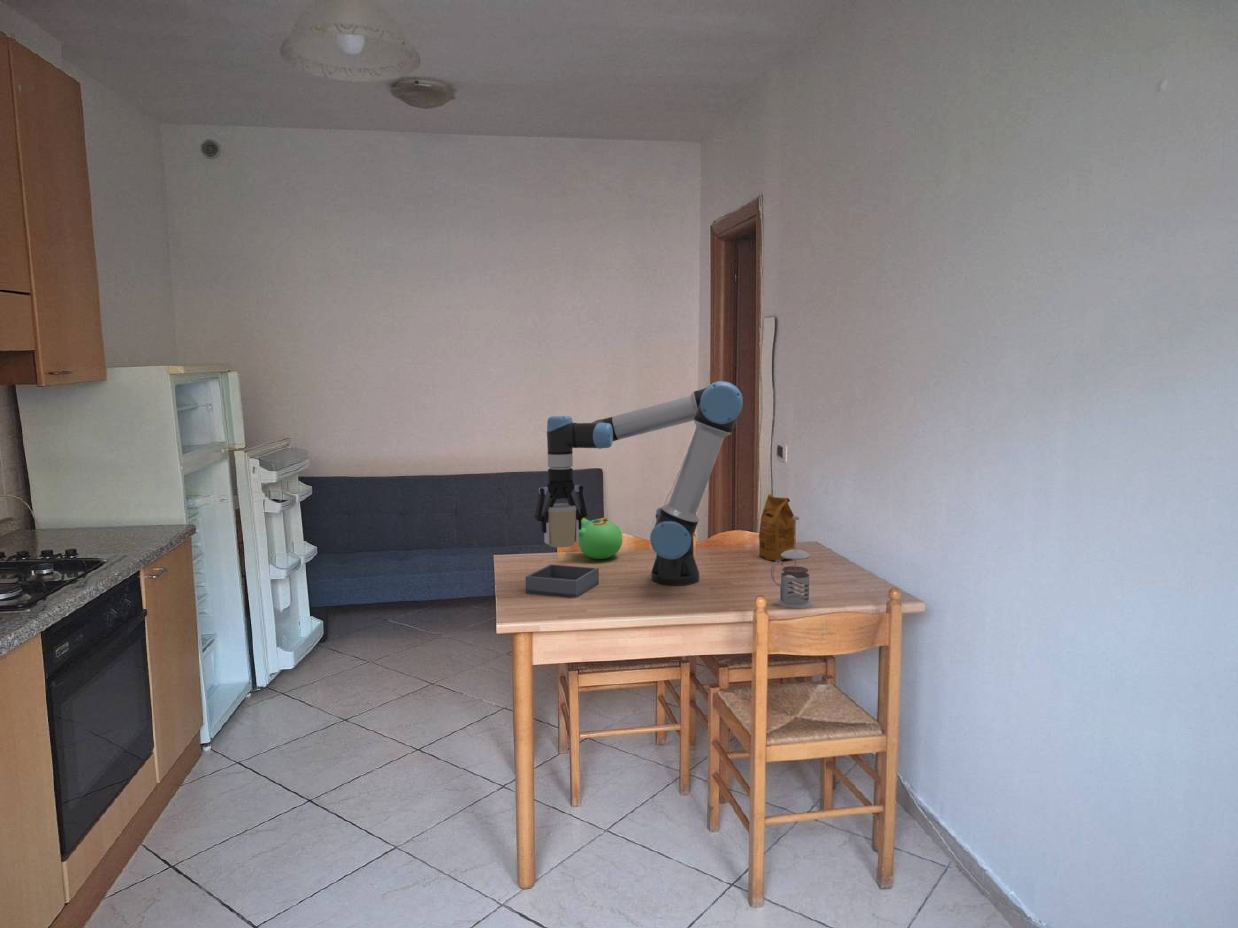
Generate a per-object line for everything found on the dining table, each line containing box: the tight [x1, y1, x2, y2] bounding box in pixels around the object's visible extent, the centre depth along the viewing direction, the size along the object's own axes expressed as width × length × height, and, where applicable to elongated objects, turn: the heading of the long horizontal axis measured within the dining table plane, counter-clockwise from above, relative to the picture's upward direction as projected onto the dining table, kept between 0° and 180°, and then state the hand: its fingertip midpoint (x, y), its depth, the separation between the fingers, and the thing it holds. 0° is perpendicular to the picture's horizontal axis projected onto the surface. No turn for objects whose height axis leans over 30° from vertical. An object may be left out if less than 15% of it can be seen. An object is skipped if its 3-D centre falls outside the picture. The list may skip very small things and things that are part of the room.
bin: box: [525, 563, 600, 598], centre depth 246 cm, size 17×17×5 cm
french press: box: [770, 514, 814, 609], centre depth 226 cm, size 10×12×25 cm
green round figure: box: [577, 517, 623, 560], centre depth 285 cm, size 18×17×15 cm
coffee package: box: [758, 493, 795, 562], centre depth 281 cm, size 10×12×22 cm
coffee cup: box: [547, 502, 577, 548], centre depth 244 cm, size 9×9×12 cm
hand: (561, 541), depth 244 cm, fingers closed on coffee cup, 9 cm apart
